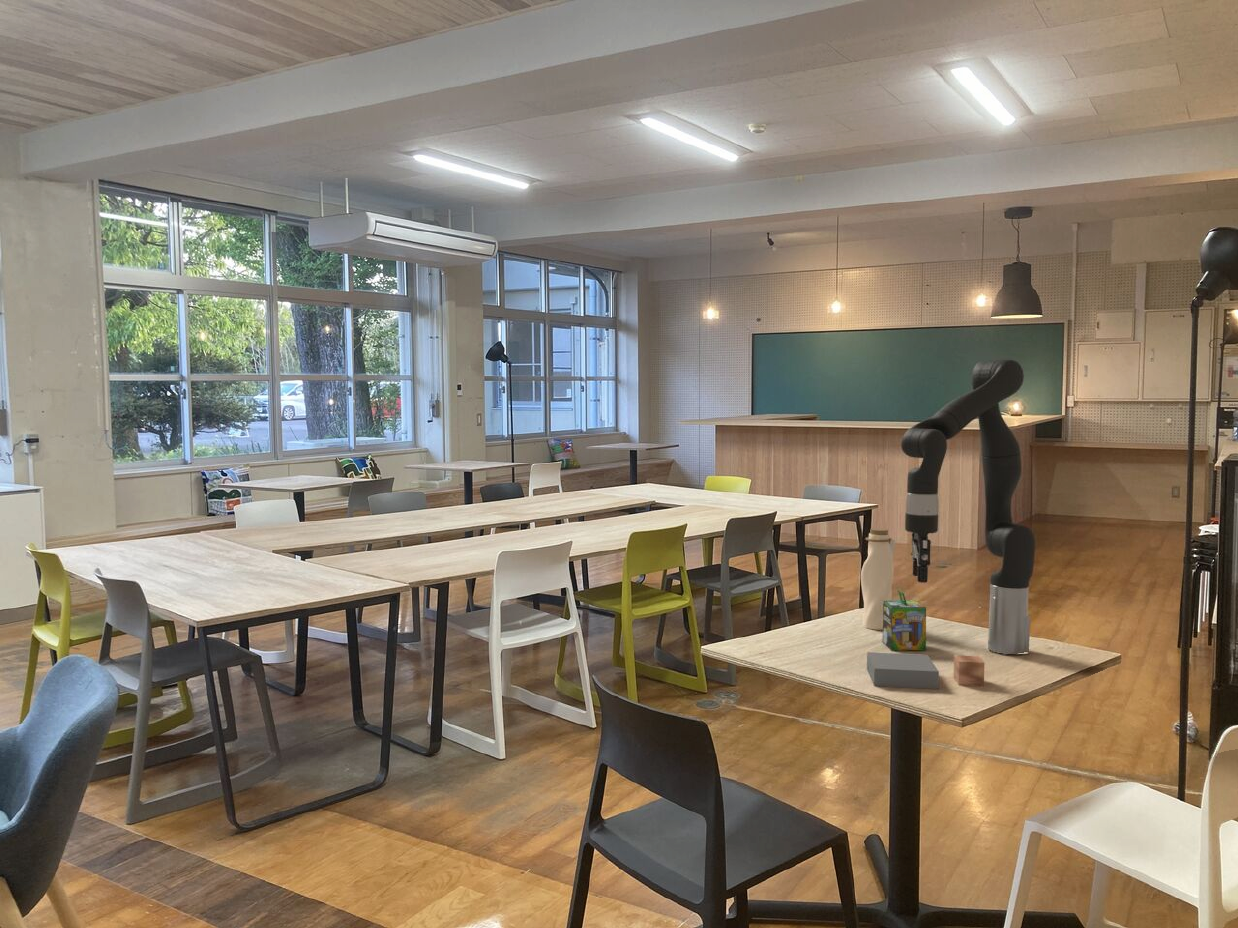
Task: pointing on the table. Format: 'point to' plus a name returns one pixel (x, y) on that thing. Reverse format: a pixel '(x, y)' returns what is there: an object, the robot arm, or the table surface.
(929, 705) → the table surface
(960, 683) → the terracotta cube
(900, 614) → the chalk box
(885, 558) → the water bottle
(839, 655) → the table surface
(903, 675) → the charcoal base
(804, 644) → the table surface
